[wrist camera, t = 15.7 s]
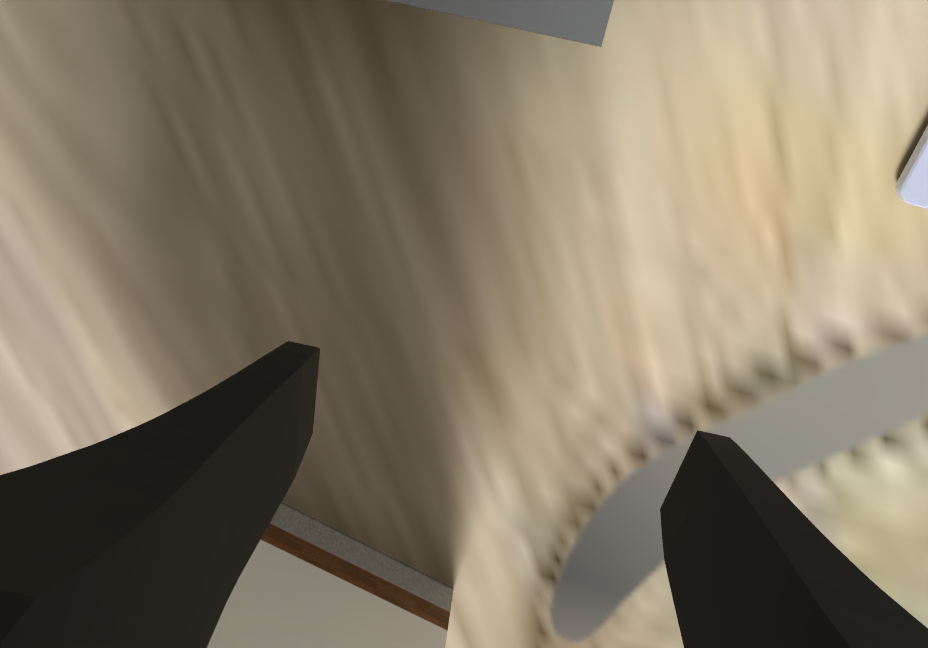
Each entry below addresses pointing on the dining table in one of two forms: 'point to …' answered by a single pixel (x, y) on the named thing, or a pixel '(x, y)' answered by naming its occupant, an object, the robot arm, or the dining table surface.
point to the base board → (533, 15)
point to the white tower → (329, 594)
